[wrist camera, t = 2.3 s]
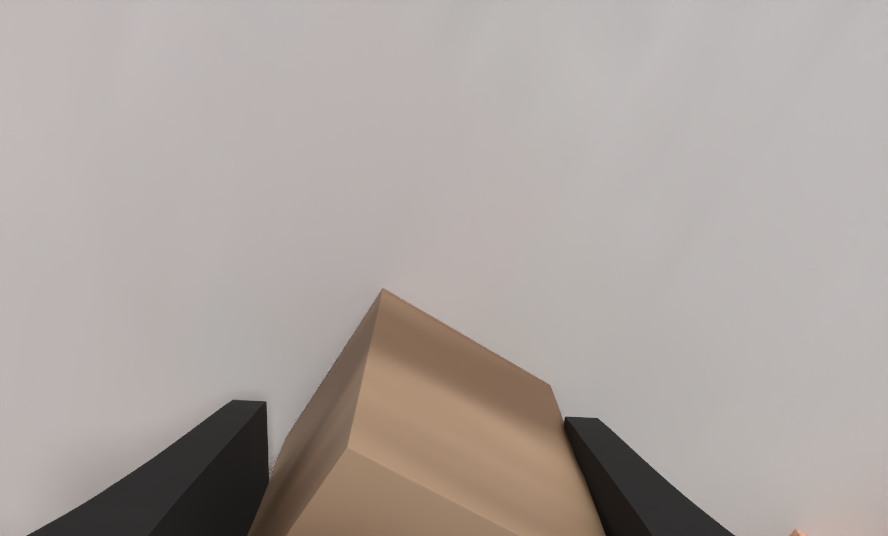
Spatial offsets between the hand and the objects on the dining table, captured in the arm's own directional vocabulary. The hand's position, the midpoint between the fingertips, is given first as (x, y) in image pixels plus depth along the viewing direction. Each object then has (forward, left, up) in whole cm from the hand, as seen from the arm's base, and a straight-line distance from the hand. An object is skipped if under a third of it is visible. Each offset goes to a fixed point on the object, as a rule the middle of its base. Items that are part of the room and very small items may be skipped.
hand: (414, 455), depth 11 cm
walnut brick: (0, 0, -1) cm, 1 cm away
